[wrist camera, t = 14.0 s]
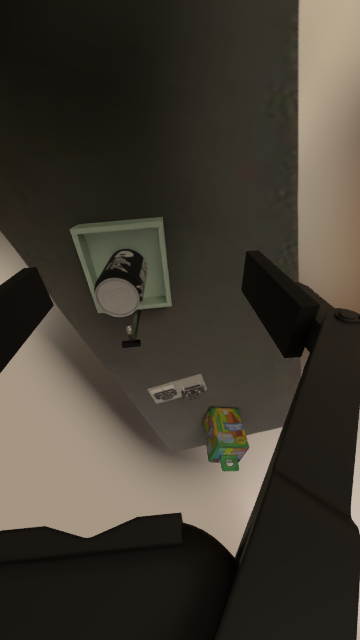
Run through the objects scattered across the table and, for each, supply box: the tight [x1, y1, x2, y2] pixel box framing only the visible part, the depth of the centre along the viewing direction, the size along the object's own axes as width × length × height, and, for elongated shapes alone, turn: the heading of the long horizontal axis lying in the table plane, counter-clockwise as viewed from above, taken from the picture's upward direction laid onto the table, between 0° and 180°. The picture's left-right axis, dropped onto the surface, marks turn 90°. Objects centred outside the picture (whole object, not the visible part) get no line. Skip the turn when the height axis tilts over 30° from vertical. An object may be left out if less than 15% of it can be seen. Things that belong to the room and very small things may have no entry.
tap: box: [122, 309, 142, 348], centre depth 38 cm, size 4×3×12 cm
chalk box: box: [203, 407, 249, 471], centre depth 61 cm, size 9×9×15 cm
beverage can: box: [94, 249, 147, 317], centre depth 33 cm, size 7×7×12 cm
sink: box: [70, 217, 172, 313], centre depth 37 cm, size 15×14×4 cm
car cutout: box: [147, 374, 207, 404], centre depth 57 cm, size 15×7×4 cm, turn 108°
